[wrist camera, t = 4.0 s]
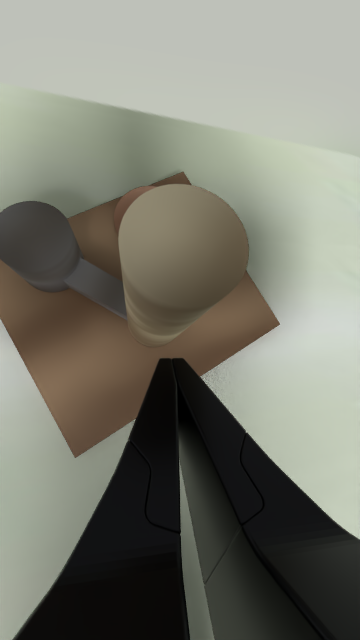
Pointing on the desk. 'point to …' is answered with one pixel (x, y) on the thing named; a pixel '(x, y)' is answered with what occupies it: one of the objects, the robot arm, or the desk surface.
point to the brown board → (112, 334)
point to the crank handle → (137, 258)
